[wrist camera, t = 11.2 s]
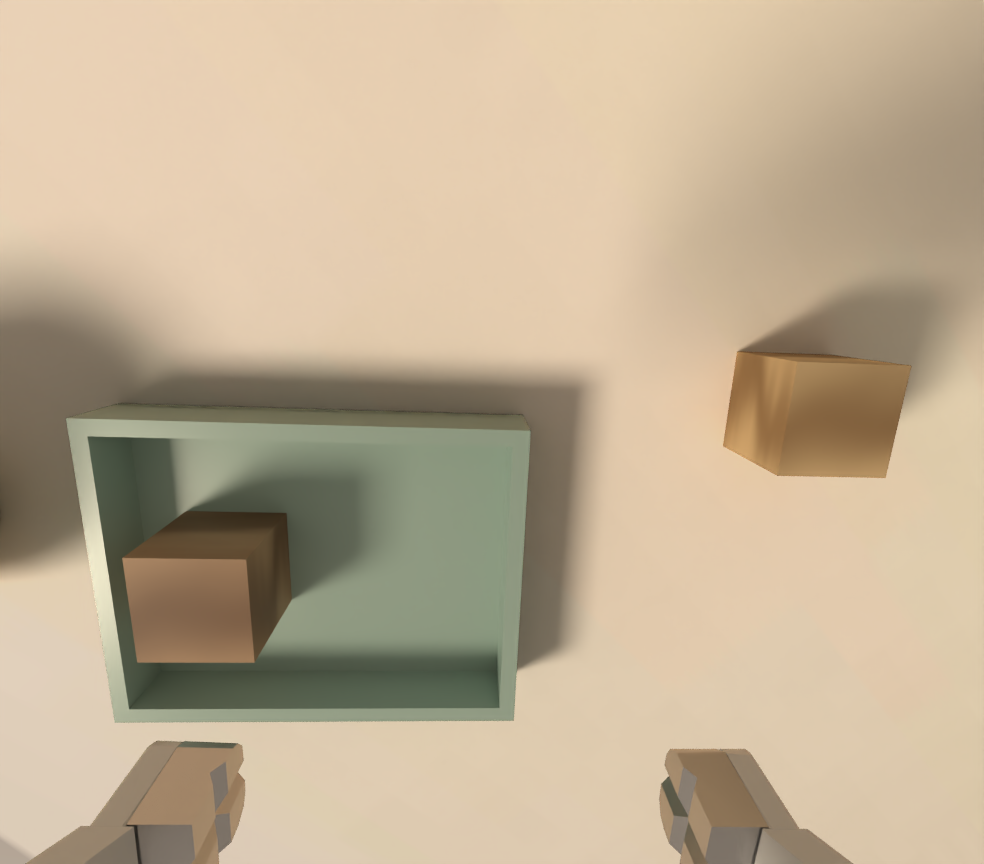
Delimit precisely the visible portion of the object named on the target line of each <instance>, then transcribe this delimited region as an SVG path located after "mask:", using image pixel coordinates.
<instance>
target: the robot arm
mask: <svg viewBox="0 0 984 864" xmlns="http://www.w3.org/2000/svg"><path fill="white" fill-rule="evenodd" d="M243 761H244V758H243V749H242V745H240V744H238V743H214V742H190V741H184V742H175V741H156V742H154V743H153V744H151V745H150V746H149V747H148V748H147V749H146V750H145V751H144V753H143V754H142V756H141V757H140V758H139V760H138V761H137V762H136V764H135V765H134V766H133V768H132V769H131V771H130V772H129V773H128V775H127V776H126V777H125V779H124V780H123V782H122V783H121V784H120V786H119V787H118V788H117V790H116V791H115V793H114V794H113V795H112V797H111V798H110V799H109V801H108V802H107V803H106V805H105V806H104V808H103V809H102V810H101V812H100V813H99V814H98V816H97V817H96V819H95V820H94V821H93V823H92V824H91V825H90V826H80V827H79V828H77V829H76V830H75V831H73V832H72V833H70V834H69V835H67V836H66V837H64V838H63V839H61V840H60V841H58V842H57V843H55V844H54V845H52V846H51V847H49V848H48V849H46V850H45V851H43V852H42V853H40V854H39V855H38V856H36V857H35V858H33V859H32V860H30V861H29V862H27V863H26V864H219V855H218V853H220V852H221V851H222V850H223V849H224V848H225V847H226V846H227V845H229V844H230V843H231V842H232V839H233V837H234V835H235V832H236V830H237V827H238V825H239V821H240V818H241V814H242V810H243V807H244V799H245V780H244V779H243V777H242V776H241V775H240V774H239V773H238V771H239V769H240V767H241V765H242V763H243ZM665 767H666V770H667V772H668V775H669V777H668V778H667V779H666V780H665V781H664V782H663V783H662V784H661V789H660V797H659V801H660V814H661V819H662V823H663V827H664V831H665V833H666V836H667V839H668V842H669V843H670V844H671V845H672V846H673V847H674V848H675V849H676V850H677V851H678V852H679V853H680V854H681V859H680V864H853V863H852V862H850V861H849V860H848V859H846V858H845V857H844V856H842V855H841V854H840V853H838V852H837V851H836V850H834V849H833V848H832V847H830V846H829V845H828V844H827V843H825V842H824V841H823V840H821V839H820V838H819V837H817V836H816V835H815V834H813V833H812V832H811V831H809V830H808V829H799V827H798V826H797V824H796V822H795V821H794V819H793V818H792V816H791V815H790V813H789V812H788V810H787V809H786V807H785V805H784V804H783V802H782V801H781V799H780V798H779V796H778V795H777V793H776V792H775V790H774V788H773V787H772V785H771V784H770V782H769V781H768V779H767V778H766V776H765V775H764V773H763V771H762V770H761V768H760V767H759V765H758V764H757V762H756V761H755V759H754V758H753V756H752V755H751V753H750V752H748V751H747V750H746V749H720V750H718V749H670V750H669V751H668V753H667V755H666V760H665Z"/></svg>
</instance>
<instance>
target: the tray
mask: <svg viewBox="0 0 984 864" xmlns="http://www.w3.org/2000/svg"><path fill="white" fill-rule="evenodd" d="M66 423H67V429H68V435H69V441H70V448H71V454H72V460H73V466H74V472H75V479H76V485H77V491H78V497H79V503H80V510H81V516H82V522H83V528H84V534H85V541H86V547H87V553H88V559H89V565H90V572H91V578H92V584H93V590H94V596H95V603H96V609H97V615H98V621H99V627H100V634H101V640H102V646H103V652H104V658H105V665H106V671H107V677H108V683H109V689H110V696H111V702H112V708H113V714H114V720H115V723H134V722H337V721H514V707H515V690H516V673H517V656H518V639H519V622H520V605H521V588H522V571H523V554H524V537H525V520H526V503H527V486H528V469H529V452H530V435H531V430H530V428H529V426H528V424H527V423H526V421H525V419H524V417H523V415H509V414H474V413H439V412H404V411H369V410H334V409H299V408H264V407H229V406H195V405H160V404H125V403H118V404H114V405H111V406H107V407H104V408H100V409H97V410H93V411H90V412H86V413H83V414H79V415H75V416H72V417H68V418H66ZM186 511H210V512H268V513H287V527H288V544H289V561H290V578H291V594H292V600H291V602H290V604H289V605H288V607H287V609H286V610H285V612H284V614H283V616H282V617H281V619H280V621H279V622H278V624H277V626H276V627H275V629H274V631H273V632H272V634H271V636H270V637H269V639H268V641H267V643H266V644H265V646H264V648H263V649H262V651H261V653H260V654H259V656H258V658H257V659H256V661H255V663H137V657H136V650H135V643H134V636H133V629H132V622H131V615H130V609H129V602H128V595H127V588H126V581H125V574H124V567H123V560H122V558H123V557H124V556H126V555H127V554H128V553H130V552H131V551H132V550H134V549H135V548H137V547H138V546H139V545H141V544H142V543H143V542H145V541H146V540H147V539H149V538H150V537H152V536H153V535H154V534H156V533H157V532H158V531H160V530H161V529H162V528H164V527H165V526H167V525H168V524H169V523H171V522H172V521H173V520H175V519H176V518H177V517H179V516H180V515H182V514H183V513H184V512H186Z"/></svg>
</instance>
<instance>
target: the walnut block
mask: <svg viewBox="0 0 984 864" xmlns="http://www.w3.org/2000/svg"><path fill="white" fill-rule="evenodd" d="M122 560H123V567H124V574H125V581H126V588H127V595H128V602H129V609H130V615H131V622H132V629H133V636H134V643H135V650H136V657H137V663H255V661H256V659H257V658H258V656H259V654H260V653H261V651H262V649H263V648H264V646H265V644H266V643H267V641H268V639H269V637H270V636H271V634H272V632H273V631H274V629H275V627H276V626H277V624H278V622H279V621H280V619H281V617H282V616H283V614H284V612H285V610H286V609H287V607H288V605H289V604H290V602H291V600H292V594H291V578H290V561H289V544H288V527H287V513H268V512H210V511H186V512H184V513H183V514H182V515H180V516H179V517H177V518H176V519H175V520H173V521H172V522H171V523H169V524H168V525H167V526H165V527H164V528H162V529H161V530H160V531H158V532H157V533H156V534H154V535H153V536H152V537H150V538H149V539H147V540H146V541H145V542H143V543H142V544H141V545H139V546H138V547H137V548H135V549H134V550H132V551H131V552H130V553H128V554H127V555H126V556H124V557H123V558H122Z"/></svg>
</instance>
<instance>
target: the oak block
mask: <svg viewBox="0 0 984 864" xmlns="http://www.w3.org/2000/svg"><path fill="white" fill-rule="evenodd" d="M910 370H911V366H910V365H902V364H895V363H888V362H880V361H873V360H865V359H858V358H851V357H843V356H836V355H821V354H792V353H764V352H737V357H736V363H735V370H734V377H733V383H732V390H731V397H730V403H729V410H728V417H727V423H726V430H725V437H724V443H723V446H724V447H726V448H728V449H729V450H731V451H733V452H735V453H737V454H739V455H740V456H742V457H744V458H746V459H748V460H750V461H751V462H753V463H755V464H757V465H759V466H761V467H762V468H764V469H766V470H768V471H770V472H772V473H773V474H775V475H777V476H820V477H867V478H886V473H887V469H888V465H889V461H890V456H891V452H892V448H893V443H894V439H895V435H896V430H897V426H898V422H899V417H900V413H901V409H902V404H903V400H904V396H905V391H906V387H907V383H908V378H909V374H910Z"/></svg>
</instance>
